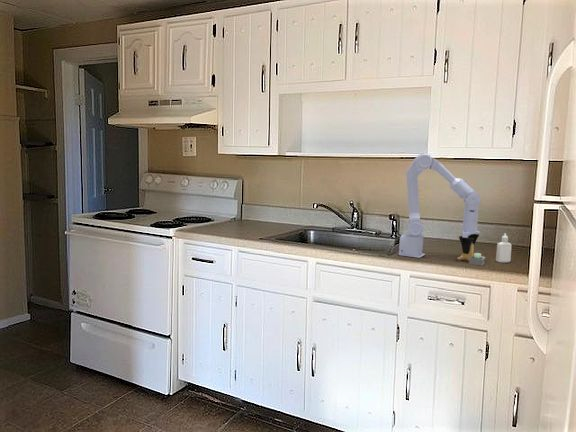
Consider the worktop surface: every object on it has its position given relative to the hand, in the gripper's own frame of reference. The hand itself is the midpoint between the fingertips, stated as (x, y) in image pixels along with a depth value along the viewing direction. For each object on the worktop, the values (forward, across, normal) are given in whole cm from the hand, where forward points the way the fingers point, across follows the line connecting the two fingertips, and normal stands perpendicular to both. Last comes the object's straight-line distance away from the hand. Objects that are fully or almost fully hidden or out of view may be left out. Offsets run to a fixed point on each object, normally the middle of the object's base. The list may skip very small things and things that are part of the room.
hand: (468, 252), depth 202 cm
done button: (+2, -6, -5) cm, 8 cm away
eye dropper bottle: (+3, +4, -13) cm, 14 cm away
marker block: (+2, 0, 0) cm, 2 cm away
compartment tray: (+3, +1, -1) cm, 3 cm away
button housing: (+3, -6, -5) cm, 9 cm away
